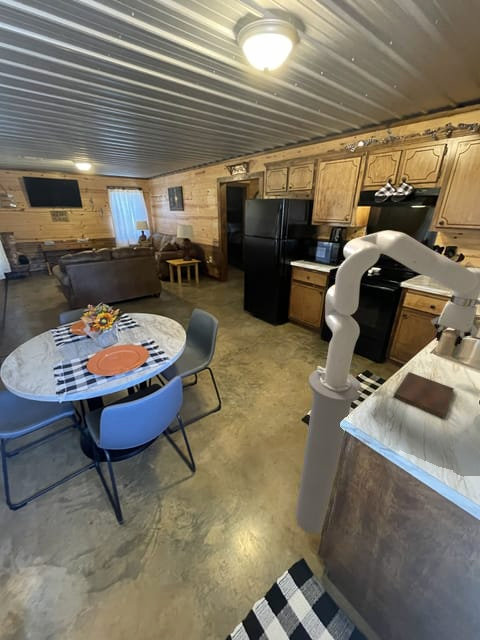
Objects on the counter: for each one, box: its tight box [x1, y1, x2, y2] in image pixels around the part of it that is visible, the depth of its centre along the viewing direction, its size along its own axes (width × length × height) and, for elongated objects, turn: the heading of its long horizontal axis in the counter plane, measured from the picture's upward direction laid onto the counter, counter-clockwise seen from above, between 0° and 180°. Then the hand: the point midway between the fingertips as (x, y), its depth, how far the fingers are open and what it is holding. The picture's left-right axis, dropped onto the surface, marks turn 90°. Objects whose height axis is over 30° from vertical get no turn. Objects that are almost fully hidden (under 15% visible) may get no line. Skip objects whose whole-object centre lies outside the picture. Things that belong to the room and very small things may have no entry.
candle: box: [434, 329, 459, 357], centre depth 107 cm, size 6×6×10 cm
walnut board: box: [393, 371, 454, 419], centre depth 104 cm, size 16×20×2 cm
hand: (447, 342), depth 107 cm, fingers closed on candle, 5 cm apart
